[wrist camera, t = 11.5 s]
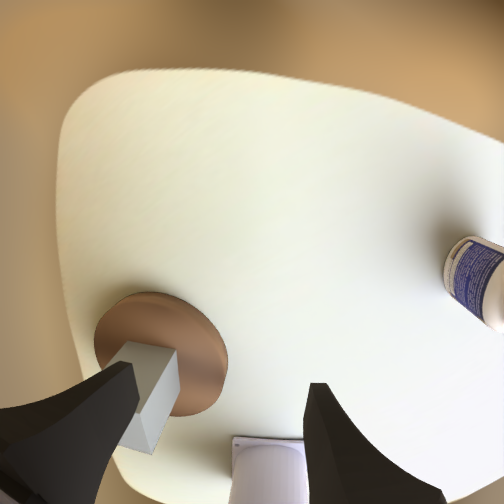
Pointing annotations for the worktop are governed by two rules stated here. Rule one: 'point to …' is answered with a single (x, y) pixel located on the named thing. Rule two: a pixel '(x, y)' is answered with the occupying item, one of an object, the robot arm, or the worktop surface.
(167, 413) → the block
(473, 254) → the pill bottle
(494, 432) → the worktop surface
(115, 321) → the plinth
